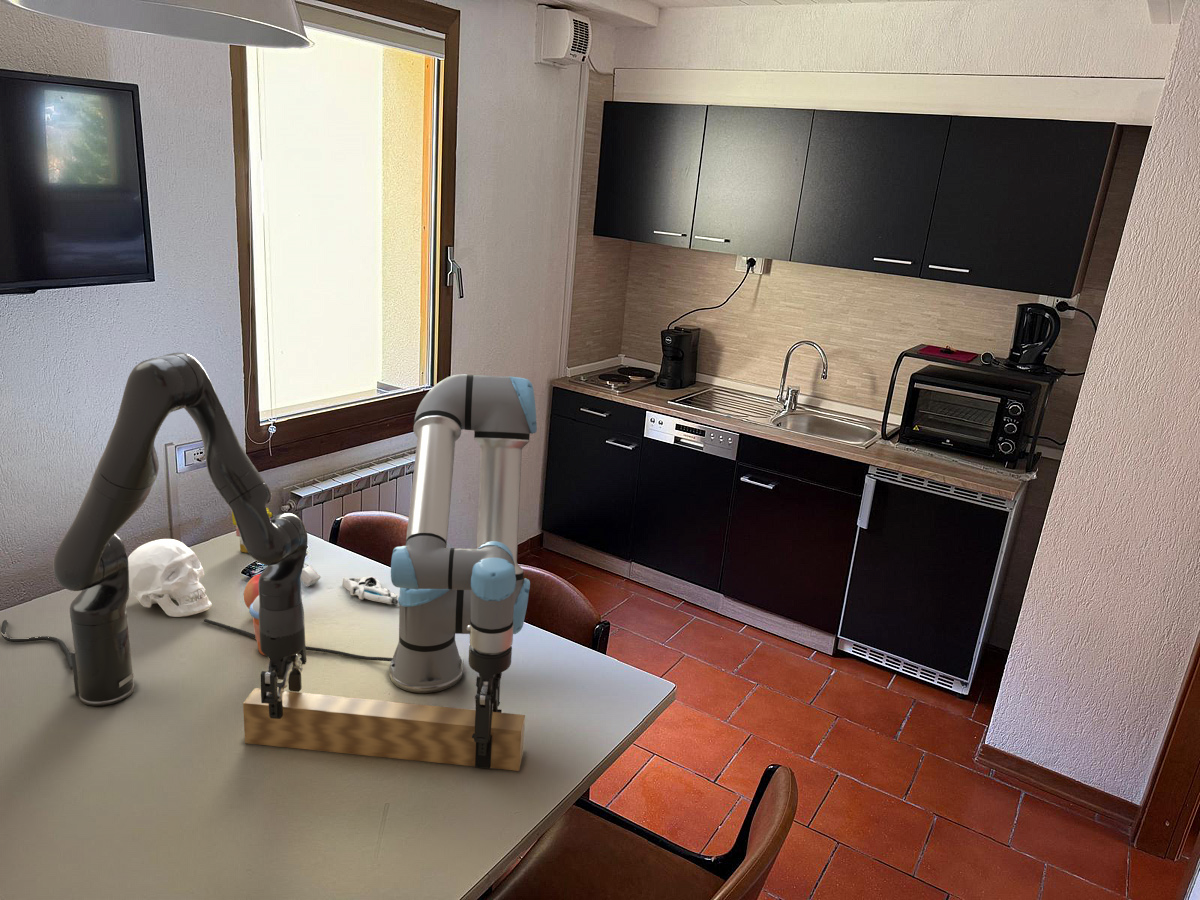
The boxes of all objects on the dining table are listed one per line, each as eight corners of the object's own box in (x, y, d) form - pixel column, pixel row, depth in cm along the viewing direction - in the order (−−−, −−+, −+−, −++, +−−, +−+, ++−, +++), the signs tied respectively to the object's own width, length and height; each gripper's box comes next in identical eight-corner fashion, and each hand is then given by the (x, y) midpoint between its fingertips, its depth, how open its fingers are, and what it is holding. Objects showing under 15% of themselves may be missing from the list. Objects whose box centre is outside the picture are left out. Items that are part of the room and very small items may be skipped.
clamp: (253, 565, 223) (254, 542, 221) (265, 560, 226) (266, 537, 224) (309, 593, 215) (310, 569, 213) (320, 588, 218) (321, 564, 216)
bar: (522, 754, 160) (525, 714, 157) (519, 771, 155) (521, 730, 152) (256, 727, 161) (254, 687, 158) (244, 743, 156) (242, 703, 154)
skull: (190, 626, 193) (187, 561, 188) (111, 606, 198) (107, 543, 194) (231, 603, 205) (229, 541, 201) (156, 585, 211) (152, 525, 206)
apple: (273, 600, 207) (272, 562, 204) (297, 613, 202) (296, 575, 199) (237, 614, 200) (234, 575, 197) (261, 628, 194) (259, 588, 191)
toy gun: (415, 589, 214) (386, 601, 205) (414, 598, 214) (386, 611, 206) (361, 569, 222) (332, 580, 214) (361, 578, 223) (331, 589, 214)
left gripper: (277, 604, 158) (281, 680, 163) (242, 643, 145) (248, 725, 149) (317, 607, 158) (320, 684, 163) (286, 646, 144) (290, 729, 149)
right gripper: (479, 618, 159) (474, 725, 166) (458, 670, 142) (454, 787, 149) (519, 622, 159) (513, 729, 166) (503, 674, 142) (497, 791, 149)
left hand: (285, 703), depth 156 cm, fingers open, 8 cm apart
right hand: (485, 756), depth 157 cm, fingers closed on bar, 5 cm apart
